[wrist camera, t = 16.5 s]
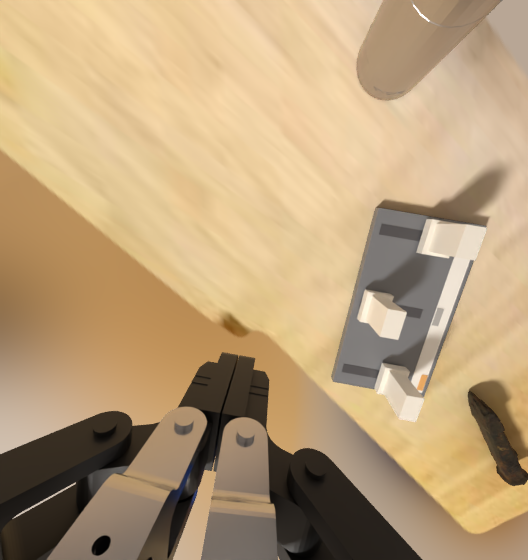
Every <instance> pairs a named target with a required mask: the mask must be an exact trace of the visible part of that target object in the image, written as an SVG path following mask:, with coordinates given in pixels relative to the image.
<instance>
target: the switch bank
mask: <svg viewBox="0 0 528 560" xmlns="http://www.w3.org/2000/svg"><path fill="white" fill-rule="evenodd" d="M426 219H434V220H440V221H446V222H452V223H458V224H467V225H473V226H479V227H485V228H486V226H484V225H478V224H472V223H466V222H460V221H454V220H448V219H442V218H436V217H430V216H425V215H419V214H413V213H407V212H401V211H395V210H389V209H383V208H375V211H374V215H373V219H372V223H371V226H370V230H369V234H368V238H367V242H366V246H365V250H364V253H363V257H362V261H361V265H360V269H359V273H358V276H357V280H356V284H355V288H354V292H353V296H352V299H351V303H350V307H349V311H348V315H347V319H346V322H345V326H344V330H343V334H342V338H341V342H340V345H339V349H338V353H337V357H336V361H335V365H334V368H333V372H332V376H331V377H332V380H333V382H338V383H343V384H348V385H354V386H359V387H365V388H370V389H375V388H374V387H375V384H376V381H377V377H378V374H379V371H380V368H381V364H382V363H387V364H392V365H398V366H403V367H406V368H407V369H408V370H409V372H410V373H409V376H408V379H409V380H410V381H411V383H412V384H413V385H414V386H415V388H416V389H417V390H418V391H419V392H420V394H421V395H422V396H423V397H424V395H425V392H426V389H427V387H428V384H429V381H430V378H431V376H432V373H433V370H434V368H435V365H436V362H437V359H438V357H439V354H440V351H441V348H442V346H443V343H444V340H445V338H446V335H447V332H448V329H449V327H450V324H451V321H452V318H453V316H454V313H455V310H456V308H457V305H458V302H459V299H460V297H461V294H462V291H463V288H464V286H465V283H466V280H467V278H468V275H469V272H470V269H471V267H472V264H473V261H474V260H469V259H463V258H457V257H452V256H449V258H443V257H437V256H431V255H426V254H420V253H416V252H417V248H418V245H419V242H420V239H421V235H422V232H423V229H424V226H425V223H426ZM365 289H366V290H372V291H378V292H383V293H389V294H391V295H393V296H394V298H393V301H392V302H394V303H395V304H396V305H398V306H399V307H400V308H402V309H403V310H404V311H406V312H407V314H406V317H405V320H404V324H403V327H402V330H401V333H400V336H399V339H398V340H396V339H390V338H384V337H380V336H379V335H378V334H377V333H376V332H375V331H374V329H373V328H372V327H371V326H370V325H369V323H364V322H360V321H359V320H358V319H357V316H358V313H359V309H360V305H361V302H362V298H363V294H364V291H365Z"/></svg>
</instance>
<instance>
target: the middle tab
mask: <svg viewBox="0 0 528 560" xmlns="http://www.w3.org/2000/svg"><path fill="white" fill-rule="evenodd" d="M393 298H394V296H393V295H391V294H389V293H383V292H378V291H372V290H366V289H365V291H364V294H363V298H362V302H361V305H360V309H359V313H358V316H357V319H358V320H359V321H360V322H364V323H369V325H370V326H371V327H372V328H373V329H374V331H375V332H376V333H377V334H378V335H379V336H380V337H384V338H390V339H396V340H398V339H399V336H400V333H401V330H402V327H403V324H404V320H405V317H406V314H407V312H406V311H404V310H403V309H402V308H400V307H399V306H398V305H396V304H395V303H394V302H392V301H393Z"/></svg>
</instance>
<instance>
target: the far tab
mask: <svg viewBox="0 0 528 560" xmlns="http://www.w3.org/2000/svg"><path fill="white" fill-rule="evenodd" d="M409 373H410V372H409V370H408V369H407V368H406V367H403V366H398V365H392V364H387V363H382V364H381V368H380V371H379V374H378V377H377V381H376V384H375V387H374V388H375V390H376V392H377V394H382V395H385V397H386V398H387V400H388V402H389V403H390V405H391V407H392V408H393V410H394V412H395V413H396V415H397V417H398V418H399V419H402V420H407V421H413V422H416V421H417V418H418V415H419V412H420V410H421V407H422V404H423V402H424V397H423V396H422V395H421V394H420V392H419V391H418V390H417V389H416V388H415V386H414V385H413V384H412V383H411V381H410V380H409V379H408V376H409Z"/></svg>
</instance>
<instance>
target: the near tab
mask: <svg viewBox="0 0 528 560" xmlns="http://www.w3.org/2000/svg"><path fill="white" fill-rule="evenodd" d="M486 231H487V228H485V227H479V226H473V225H467V224H458V223H452V222H446V221H440V220H434V219H426V223H425V226H424V229H423V232H422V235H421V239H420V242H419V245H418V248H417V252H416V253H420V254H426V255H431V256H437V257H443V258H449V256H452V257H457V258H463V259H469V260H474V261H475V260H476V258H477V255H478V252H479V250H480V247H481V244H482V241H483V239H484V236H485V233H486Z"/></svg>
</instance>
